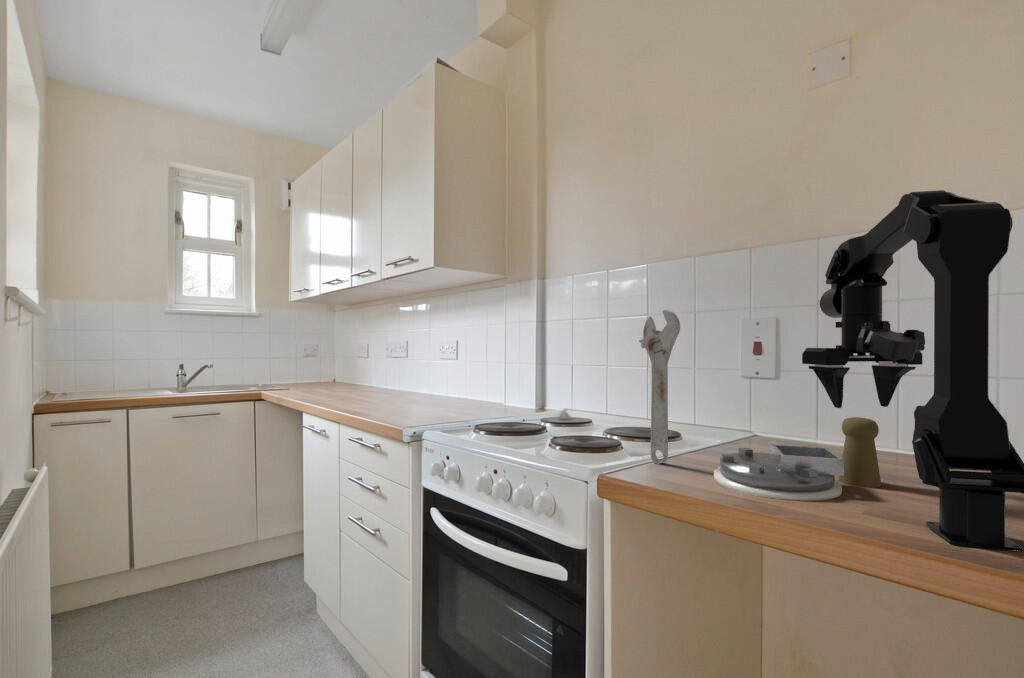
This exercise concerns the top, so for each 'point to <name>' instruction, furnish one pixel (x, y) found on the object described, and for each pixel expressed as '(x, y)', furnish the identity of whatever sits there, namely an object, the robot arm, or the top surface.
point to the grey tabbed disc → (784, 468)
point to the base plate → (777, 494)
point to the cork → (860, 453)
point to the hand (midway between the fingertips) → (861, 407)
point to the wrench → (660, 378)
